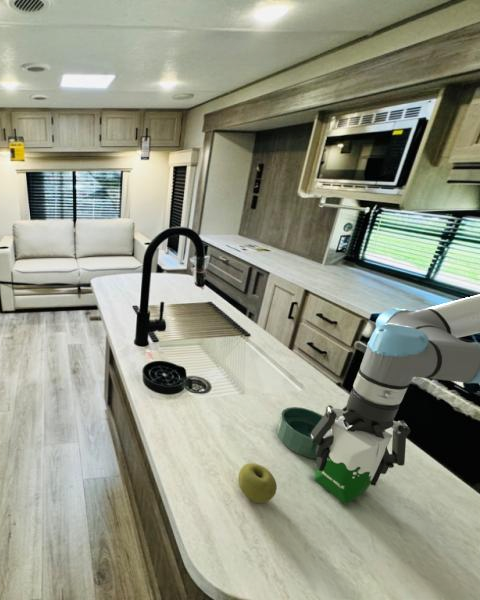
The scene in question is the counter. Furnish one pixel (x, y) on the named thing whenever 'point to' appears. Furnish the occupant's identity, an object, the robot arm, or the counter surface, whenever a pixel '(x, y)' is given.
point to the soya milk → (351, 462)
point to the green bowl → (298, 430)
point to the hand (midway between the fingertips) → (344, 473)
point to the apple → (257, 483)
